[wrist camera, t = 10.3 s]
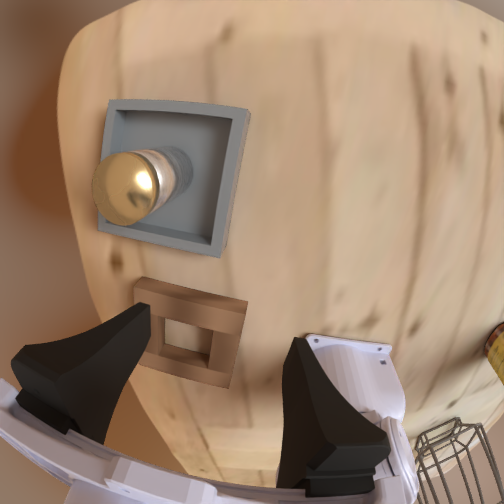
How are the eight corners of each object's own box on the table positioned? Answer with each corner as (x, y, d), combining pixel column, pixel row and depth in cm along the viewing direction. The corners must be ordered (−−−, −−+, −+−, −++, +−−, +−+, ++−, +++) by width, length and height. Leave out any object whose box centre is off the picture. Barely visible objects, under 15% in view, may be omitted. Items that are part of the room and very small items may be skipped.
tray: (250, 113, 18) (247, 109, 16) (226, 246, 22) (220, 258, 20) (125, 102, 18) (109, 99, 16) (112, 222, 22) (97, 230, 20)
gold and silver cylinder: (196, 148, 19) (153, 154, 12) (191, 200, 20) (151, 230, 14) (147, 145, 19) (92, 152, 12) (144, 195, 20) (93, 221, 14)
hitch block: (248, 301, 24) (245, 314, 22) (231, 375, 28) (228, 388, 26) (142, 276, 24) (133, 286, 22) (145, 352, 28) (138, 364, 26)
